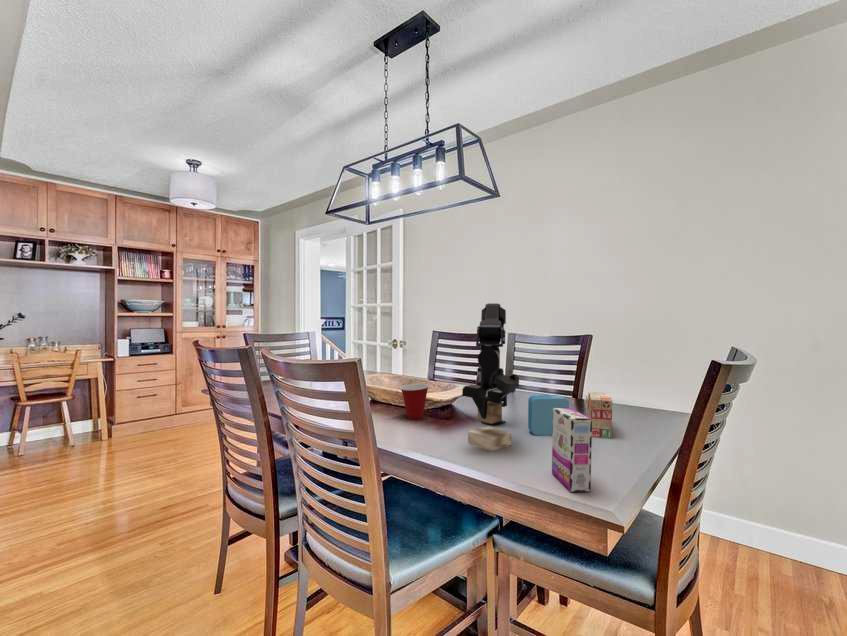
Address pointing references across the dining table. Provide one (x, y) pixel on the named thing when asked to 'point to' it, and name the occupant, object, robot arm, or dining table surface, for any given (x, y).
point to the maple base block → (489, 438)
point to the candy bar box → (572, 449)
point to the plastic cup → (414, 399)
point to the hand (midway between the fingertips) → (489, 417)
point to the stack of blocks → (600, 414)
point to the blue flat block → (543, 412)
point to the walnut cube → (492, 413)
